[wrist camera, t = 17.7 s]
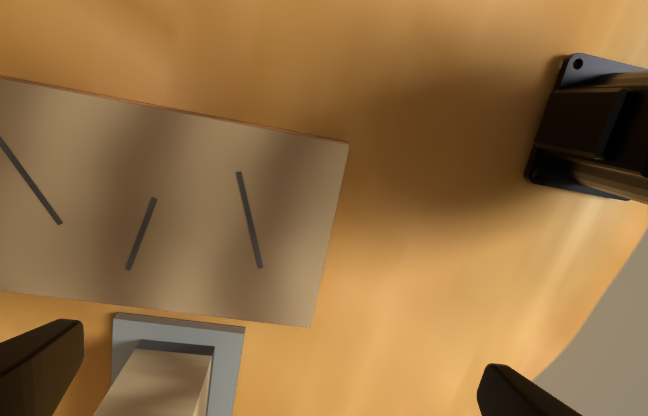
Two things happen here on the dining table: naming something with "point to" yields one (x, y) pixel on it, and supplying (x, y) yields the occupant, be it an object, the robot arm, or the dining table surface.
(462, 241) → the dining table surface
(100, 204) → the oak board
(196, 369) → the block
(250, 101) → the dining table surface
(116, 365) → the mat
